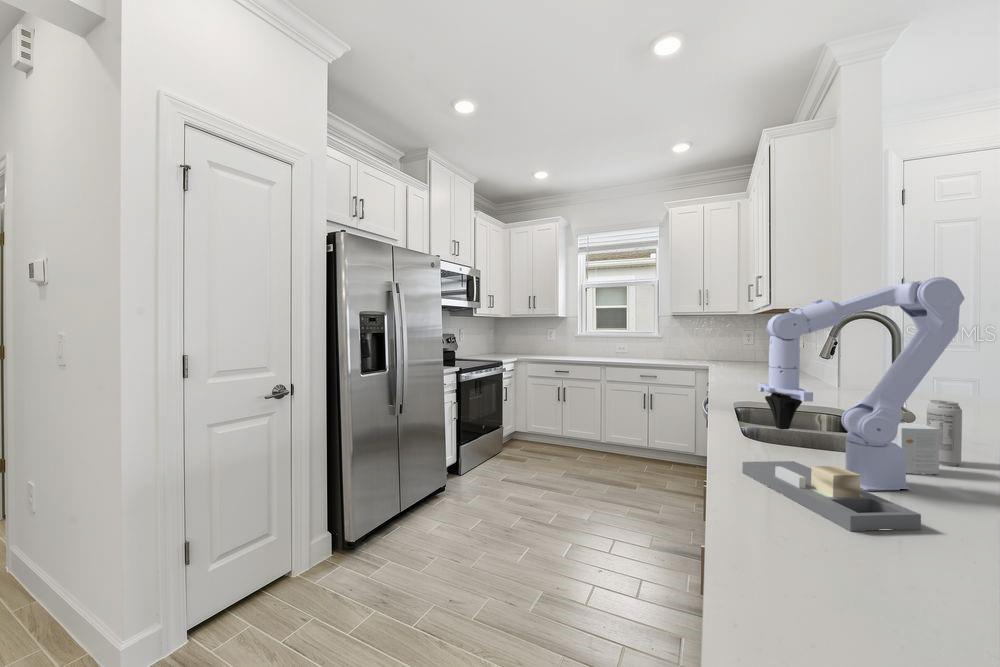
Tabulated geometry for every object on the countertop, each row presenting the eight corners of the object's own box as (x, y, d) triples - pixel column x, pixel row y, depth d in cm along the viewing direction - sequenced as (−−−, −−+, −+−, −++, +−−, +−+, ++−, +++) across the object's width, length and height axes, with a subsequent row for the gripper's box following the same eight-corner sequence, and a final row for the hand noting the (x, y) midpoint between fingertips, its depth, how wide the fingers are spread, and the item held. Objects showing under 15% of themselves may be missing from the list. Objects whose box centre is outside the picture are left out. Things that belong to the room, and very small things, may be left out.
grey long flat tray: (793, 472, 98) (793, 452, 98) (920, 529, 70) (921, 502, 70) (742, 472, 97) (742, 453, 97) (850, 531, 69) (850, 503, 69)
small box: (918, 467, 102) (918, 423, 102) (939, 475, 96) (940, 428, 96) (881, 466, 102) (882, 422, 102) (900, 474, 97) (901, 427, 97)
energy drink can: (968, 466, 103) (969, 403, 103) (948, 467, 101) (950, 404, 101) (937, 458, 109) (938, 399, 108) (919, 460, 107) (920, 400, 107)
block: (836, 486, 82) (836, 466, 82) (859, 497, 77) (860, 474, 77) (811, 487, 81) (811, 466, 81) (833, 497, 76) (833, 475, 76)
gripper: (745, 364, 102) (744, 421, 102) (790, 370, 88) (789, 437, 88) (774, 364, 103) (773, 421, 103) (823, 370, 88) (822, 436, 88)
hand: (782, 428), depth 95 cm, fingers closed
